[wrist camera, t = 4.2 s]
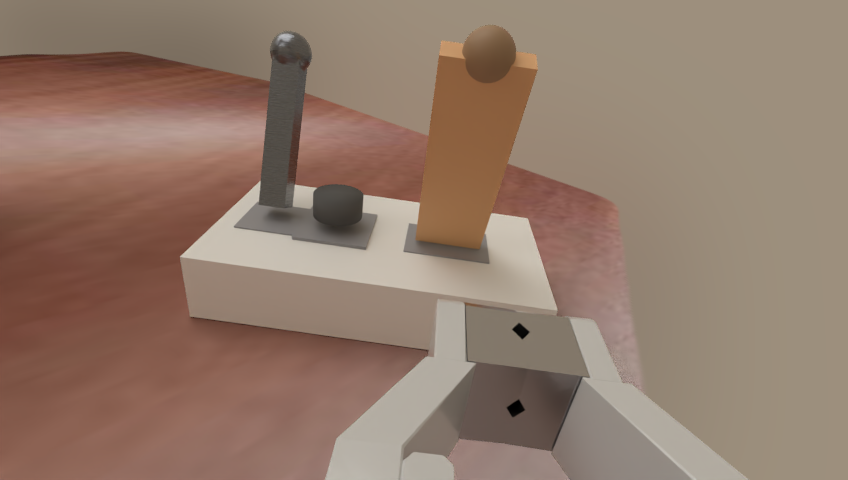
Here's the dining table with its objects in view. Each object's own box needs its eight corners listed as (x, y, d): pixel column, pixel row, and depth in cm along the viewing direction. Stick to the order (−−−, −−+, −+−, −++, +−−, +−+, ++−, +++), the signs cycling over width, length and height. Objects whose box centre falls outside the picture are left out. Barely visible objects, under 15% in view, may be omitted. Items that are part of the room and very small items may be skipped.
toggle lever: (249, 204, 26) (266, 22, 25) (264, 202, 29) (280, 36, 27) (288, 209, 26) (307, 28, 25) (300, 207, 29) (318, 41, 27)
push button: (306, 222, 26) (306, 200, 25) (320, 201, 29) (320, 181, 28) (356, 229, 26) (358, 208, 25) (366, 208, 29) (367, 188, 28)
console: (190, 316, 25) (179, 253, 23) (264, 227, 34) (261, 177, 32) (538, 365, 25) (558, 307, 23) (515, 263, 35) (528, 215, 32)
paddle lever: (414, 246, 27) (441, 34, 16) (418, 219, 28) (445, 8, 18) (479, 255, 27) (547, 49, 16) (480, 228, 28) (543, 22, 18)
